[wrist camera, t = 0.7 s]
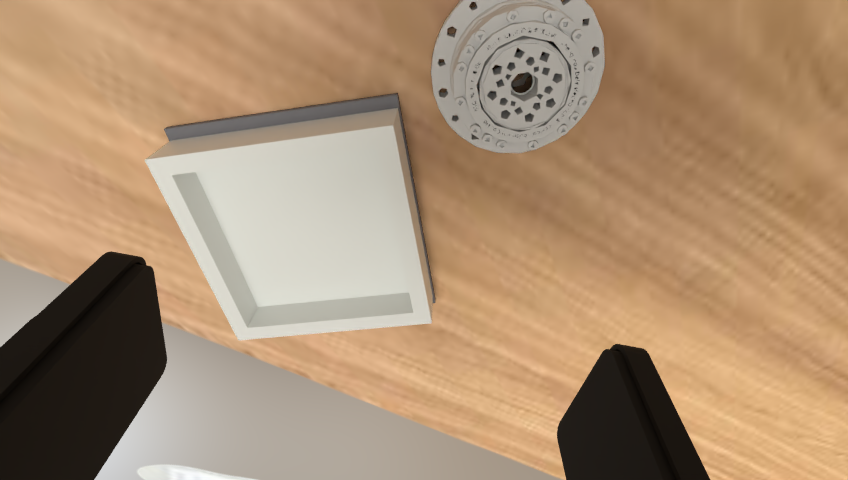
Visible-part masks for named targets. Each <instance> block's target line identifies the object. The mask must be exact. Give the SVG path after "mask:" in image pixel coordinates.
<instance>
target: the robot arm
mask: <svg viewBox="0 0 848 480" xmlns="http://www.w3.org/2000/svg"><path fill="white" fill-rule="evenodd" d="M166 363H167V355H166V348H165V342H164V336H163V329H162V322H161V316H160V309H159V303H158V296H157V290H156V283H155V277H154V271H153V268H152V267H150V266H146V262H145V260H144V259H143V258H142V257H138V256H133V255H127V254H122V253H116V252H107V253H105V254H104V255H102V256H101V257H100V258H99V259H98V260H97V261H96V262H95V263H94V264H93V265H91V266H90V267H89V268H88V269H87V270H86V271H85V272H84V273H83V274H82V275H81V276H79V277H78V278H77V279H76V280H75V281H74V282H73V283H72V284H71V285H70V286H69V287H68V288H66V289H65V290H64V291H63V292H62V293H61V294H60V295H59V296H58V297H57V298H56V299H54V300H53V301H52V302H51V303H50V304H49V305H48V306H47V307H46V308H45V309H44V310H42V311H41V312H40V313H39V314H38V315H37V316H35V317H34V318H33V319H31V320H30V321H29V322H28V323H27V324H25V325H24V326H23V327H22V328H21V329H20V330H19V331H18V332H17V333H16V334H15V335H14V336H12V337H11V338H10V339H9V340H8V341H7V342H6V343H5V344H4V345H3V346H2V347H0V480H94V479H95V477H96V476H97V474H98V473H99V471H100V470H101V468H102V466H103V465H104V464H105V462H106V461H107V459H108V457H109V456H110V454H111V453H112V451H113V449H114V448H115V446H116V445H117V444H118V442H119V441H120V439H121V438H122V436H123V434H124V433H125V431H126V430H127V428H128V427H129V425H130V424H131V422H132V421H133V419H134V418H135V416H136V415H137V413H138V411H139V410H140V408H141V407H142V405H143V404H144V402H145V401H146V399H147V398H148V396H149V394H150V393H151V391H152V390H153V388H154V387H155V385H156V384H157V382H158V381H159V379H160V378H161V376H162V374H163V372H164V370H165V367H166ZM557 438H558V444H559V448H560V453H561V457H562V462H563V466H564V471H565V475H566V480H710V478H709V476H708V474H707V472H706V470H705V468H704V466H703V464H702V462H701V460H700V458H699V456H698V454H697V452H696V450H695V448H694V446H693V443H692V441H691V439H690V437H689V435H688V433H687V431H686V429H685V427H684V425H683V423H682V421H681V419H680V417H679V415H678V413H677V411H676V409H675V407H674V405H673V403H672V401H671V399H670V396H669V394H668V392H667V390H666V388H665V386H664V384H663V382H662V380H661V378H660V376H659V374H658V372H657V370H656V368H655V366H654V364H653V362H652V360H651V358H650V356H649V354H648V353H647V351H646V350H644V349H642V348H637V347H631V346H626V345H620V344H615V345H613V346H612V347H611V349H610V350H609V349H606V350H604V351H603V352H602V354H601V355H600V357H599V359H598V360H597V362H596V364H595V365H594V367H593V369H592V370H591V372H590V374H589V375H588V377H587V378H586V380H585V382H584V383H583V385H582V387H581V388H580V390H579V392H578V393H577V395H576V397H575V398H574V400H573V402H572V403H571V405H570V406H569V408H568V410H567V411H566V413H565V415H564V416H563V418H562V420H561V421H560V423H559V426H558V431H557Z"/></svg>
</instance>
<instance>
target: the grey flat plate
mask: <svg viewBox="0 0 848 480" xmlns="http://www.w3.org/2000/svg"><path fill="white" fill-rule="evenodd" d="M394 108H398V111H399V117H400V122H401V127H402V133H403V138H404V144H405V149H406V154H407V160H408V165H409V171H410V176H411V181H412V187H413V192H414V197H415V203H416V208H417V214H418V219H419V224H420V230H421V235H422V240H423V246H424V251H425V257H426V262H427V267H428V273H429V278H430V284H431V289H432V294H433V303H435V295H434V289H433V284H432V278H431V273H430V267H429V262H428V256H427V251H426V246H425V240H424V235H423V229H422V224H421V218H420V213H419V207H418V202H417V196H416V191H415V185H414V180H413V174H412V169H411V164H410V158H409V153H408V147H407V142H406V136H405V131H404V125H403V120H402V114H401V109H400V103H399V98H398V93H395V94H388V95H382V96H375V97H368V98H361V99H354V100H348V101H341V102H334V103H327V104H321V105H314V106H307V107H300V108H293V109H287V110H280V111H273V112H266V113H259V114H253V115H246V116H239V117H232V118H225V119H219V120H212V121H205V122H198V123H191V124H185V125H178V126H171V127H166V128H165V129H164V130H165V132H166V135H167V137H168V139H169V141H171V140H178V139H185V138H192V137H199V136H206V135H213V134H220V133H227V132H234V131H241V130H248V129H255V128H261V127H268V126H275V125H282V124H289V123H296V122H303V121H310V120H317V119H324V118H331V117H338V116H345V115H352V114H359V113H366V112H373V111H380V110H387V109H394Z"/></svg>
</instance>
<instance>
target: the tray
mask: <svg viewBox="0 0 848 480" xmlns="http://www.w3.org/2000/svg"><path fill="white" fill-rule="evenodd" d="M145 162H146V164H147V165H148V167H149V169H150V171H151V173H152V175H153V177H154V179H155V181H156V183H157V185H158V187H159V189H160V190H161V192H162V194H163V196H164V198H165V200H166V202H167V204H168V206H169V208H170V210H171V212H172V214H173V215H174V217H175V219H176V221H177V223H178V225H179V227H180V229H181V231H182V233H183V235H184V237H185V239H186V240H187V242H188V244H189V246H190V248H191V250H192V252H193V254H194V256H195V258H196V260H197V262H198V264H199V265H200V267H201V269H202V271H203V273H204V275H205V277H206V279H207V281H208V283H209V285H210V287H211V289H212V290H213V292H214V294H215V296H216V298H217V300H218V302H219V304H220V306H221V308H222V310H223V312H224V314H225V315H226V317H227V319H228V321H229V323H230V325H231V327H232V329H233V331H234V333H235V335H236V337H237V339H238V340H248V339H259V338H271V337H282V336H293V335H305V334H316V333H327V332H339V331H350V330H361V329H372V328H384V327H395V326H406V325H418V324H429V323H432V303H433V294H432V289H431V284H430V278H429V273H428V267H427V262H426V257H425V251H424V246H423V240H422V235H421V230H420V224H419V219H418V214H417V208H416V203H415V197H414V192H413V187H412V181H411V176H410V171H409V165H408V160H407V154H406V149H405V144H404V138H403V133H402V127H401V122H400V117H399V111H398V108H394V109H387V110H380V111H373V112H366V113H359V114H352V115H345V116H338V117H331V118H324V119H317V120H310V121H303V122H296V123H289V124H282V125H275V126H268V127H261V128H255V129H248V130H241V131H234V132H227V133H220V134H213V135H206V136H199V137H192V138H185V139H178V140H171V141H169V142H168V143H167V144H165V145H164V146H163V147H161V148H160V149H159V150H157V151H156V152H155V153H153V154H152V155H150V156H149V157H148V158H146V159H145Z"/></svg>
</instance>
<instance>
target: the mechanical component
mask: <svg viewBox="0 0 848 480" xmlns="http://www.w3.org/2000/svg"><path fill="white" fill-rule="evenodd" d="M471 2H475V4H476V7H473V8H470V7H469V6H470V4H471ZM583 19H585V20H584V22H583ZM452 26H453V27H454V28H456V32H455V33H454V34H449V33H448V32H447V29H448V28H450V27H452ZM548 41H551V42H552V44H553V43H555V45H556V47H557V48H556V47H555V46H554V44H553V45H552V44H551V43H549V42H548ZM593 47H595V48H594V50H593V52H592V48H593ZM517 48H519V49H520V52H516V50H517ZM542 52H543V53H544V55H542V56H541V54H542ZM529 57H530V58H529ZM528 58H529V59H528ZM439 59H444V61H445V62H439ZM527 59H528V60H527ZM495 65H498V66H499V67H498V68H496V69H494V70H493V67H494V66H495ZM604 66H605V60H604V38H603V33H602V30H601V28H600V26H599V23H598V21H597V18H596V16H595V13H594V11H593V9H592V8H591V7H590V6H589V5H588V4H587V3H586V2H585V1H584V0H565V1H564V2H561V0H460V2H459V3H458V4H457V5H456V7H455V8H454V9H453V11H452V12H451V13H450V14H449V16H448V17H447V18H446V20H445V21H444V23H443V26H442V28H441V30H440V32H439V34H438V37H437V39H436V43H435V47H434V51H433V56H432V65H431V77H432V85H433V93H434V96H435V99H436V102H437V105H438V108H439V110H440V112H441V114H442V115H443V117H444V118H445V120H446V122H447V123H448V125H449V126H450V127H451V128H452V129H453V130H454V131H455V132H456V133H457V134H458V135H459V136H460V137H462V138H463V139H465V140H467V141H468V142H470V143H471V144H473V145H474V146H476V147H479V148H483V149H486V150H489V151H493V152H496V153H523V152H527V151H531V150H536V149H538V148H540V147H542V146H544V145H547V144H549V143H551V142H553V141H555V140H557V139H558V138H560V137H561V136H562V135H565V134H567V133H568V131H569V130H570V129H571V128H573V127H574V126H575V125H576V123H577V122H578V121H579V120H580V119H581V118H582V117H583V115H584V114H585V113H586V112H587V110H588V108H589V107H590V105H591V103H592V101H593V100H594V98H595V96H596V94H597V93H598V89H599V85H600V81H601V78H602V74H603V70H604ZM520 73H525V74H524V75H523V77H522V78H521V79H519V80H517V81H512V80H513V79H514V78H515V77H516V76H517V74H520ZM530 74H531V76H532V80H531V84H532V86H531V88H530V89H529V90H528V91H526V92H524V93H517V92H515V91H514V90H513V87H516V86H521V85H523V84H524V83H525V80H526V78H527V77H528V76H530ZM528 78H529V77H528ZM499 80H500V81H499ZM497 81H498V82H497ZM477 83H479V84H478V85H477ZM441 88H445V89H447V91H446V92H445V93H443V92H440V91H439V90H440V89H441ZM477 88H479V92H478V90H477ZM491 91H493V93H492V92H491ZM478 94H479V95H478ZM479 97H480V98H479ZM454 115H457V116H454Z"/></svg>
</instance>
